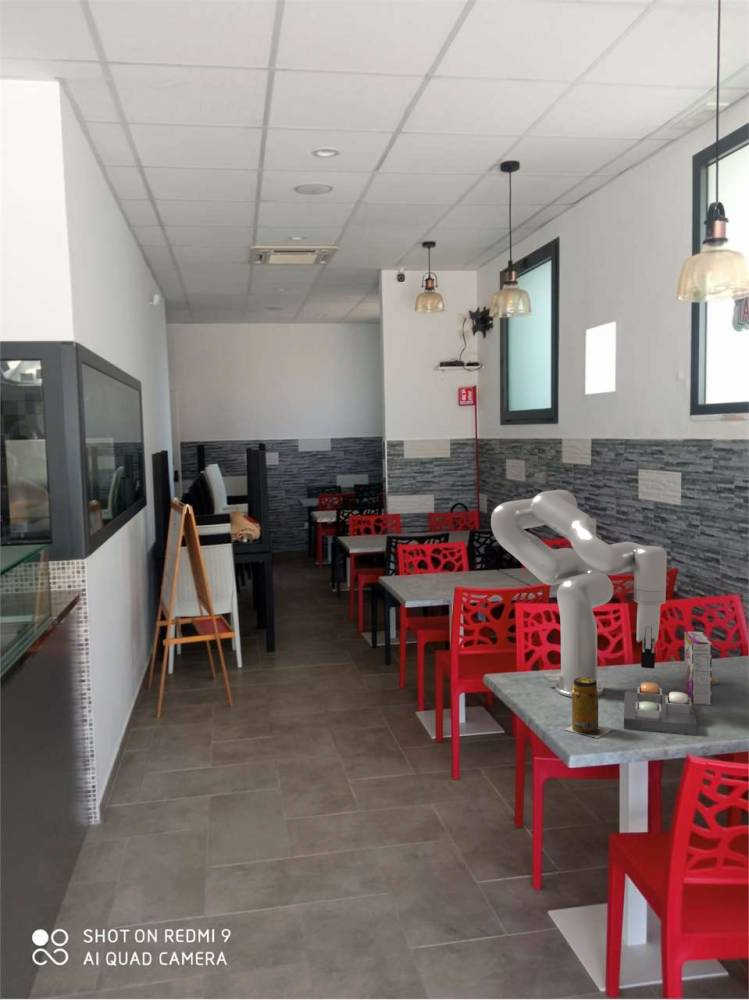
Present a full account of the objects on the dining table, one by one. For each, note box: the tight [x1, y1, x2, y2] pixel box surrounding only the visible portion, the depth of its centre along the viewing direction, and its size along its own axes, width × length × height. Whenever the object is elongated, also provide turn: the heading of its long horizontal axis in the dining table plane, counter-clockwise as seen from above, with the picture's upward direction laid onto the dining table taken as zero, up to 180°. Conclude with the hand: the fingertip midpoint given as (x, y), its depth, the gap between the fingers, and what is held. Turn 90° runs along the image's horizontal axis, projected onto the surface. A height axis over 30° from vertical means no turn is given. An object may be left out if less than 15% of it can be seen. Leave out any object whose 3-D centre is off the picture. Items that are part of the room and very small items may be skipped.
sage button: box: [639, 702, 658, 711], centre depth 187 cm, size 4×4×2 cm
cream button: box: [668, 691, 688, 705], centre depth 190 cm, size 4×4×2 cm
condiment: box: [564, 677, 613, 739], centre depth 184 cm, size 7×8×12 cm
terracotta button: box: [640, 681, 660, 694], centre depth 198 cm, size 4×4×2 cm
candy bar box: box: [683, 631, 713, 706], centre depth 204 cm, size 11×5×16 cm, turn 168°
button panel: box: [623, 685, 698, 736], centre depth 192 cm, size 16×20×4 cm
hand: (647, 667), depth 197 cm, fingers closed
